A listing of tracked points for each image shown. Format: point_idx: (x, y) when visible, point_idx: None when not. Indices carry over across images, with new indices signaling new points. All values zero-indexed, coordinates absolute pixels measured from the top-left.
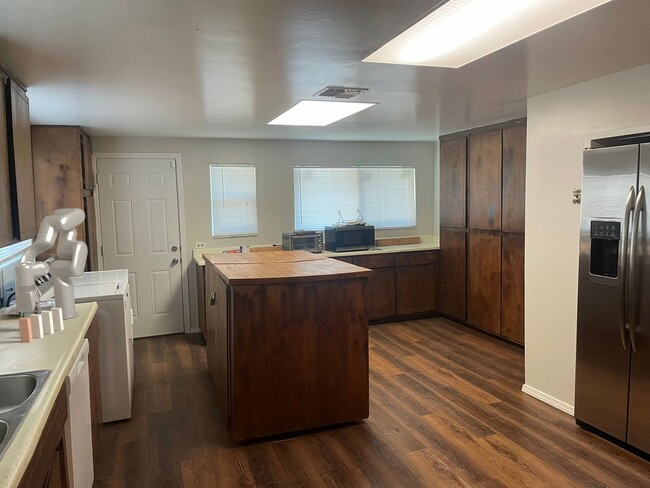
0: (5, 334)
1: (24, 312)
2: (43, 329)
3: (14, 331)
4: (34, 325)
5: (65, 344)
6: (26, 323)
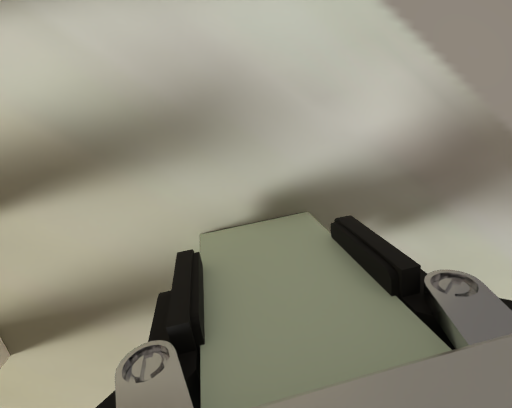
0: (401, 21)
1: None
2: None
3: (399, 146)
4: None
5: None
6: None
